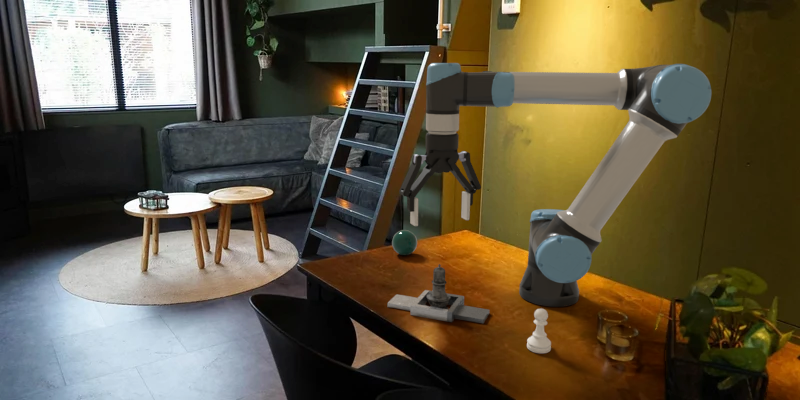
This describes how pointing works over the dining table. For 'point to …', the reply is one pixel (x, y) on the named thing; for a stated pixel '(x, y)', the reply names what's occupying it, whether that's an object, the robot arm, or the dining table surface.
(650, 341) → the dining table surface
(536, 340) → the chess pawn
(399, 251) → the sphere
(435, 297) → the grey chess piece
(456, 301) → the flanged square frame
